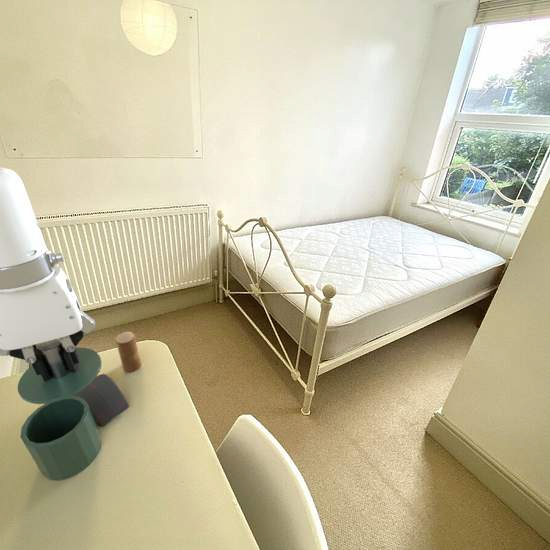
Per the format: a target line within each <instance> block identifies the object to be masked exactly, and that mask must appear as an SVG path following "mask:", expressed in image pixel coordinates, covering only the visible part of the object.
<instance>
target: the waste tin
mask: <svg viewBox="0 0 550 550" xmlns="http://www.w3.org/2000/svg"><path fill="white" fill-rule="evenodd" d="M20 440H21V441H22V443H23V444H24V446H25V448H26V450H27V451H28V452H29V454H30V456H31V457H32V459H33V461H34V462H35V464H36V466H37V467H38V469H39V471H40V473H41V474H42V476H43V477H44V478H46V479H47V480H50V481H64V480H67V479H70V478H72V477H75V476H76V475H78V474H80V473H82V472H83V471H84V470H86V469H87V468H88V467H89V466H90V465H91V464H92V463H93V462H94V460H95V459H96V458H97V456H98V455H99V452H100V450H101V447H102V440H101V434H100V431H99V429H98V427H97V424H96V421H95V420H94V419H93V416H92V414H91V411H90V409H89V406H88V404H87V403H86V401H85V400H84V399H83V398H80V397H77V396H70V397H68V398H66V399H63V400H60V401H57V402H53V403H47V404H41V405H40V406H39V407H37V408H36V409H35V410H34V411H33V412H32V413H31V414H30V415H29V416H28V417H27V418H26V419H25V422H24V423H23V425H22V426H21V430H20Z"/></svg>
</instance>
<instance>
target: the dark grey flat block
mask: <svg viewBox="0 0 550 550" xmlns="http://www.w3.org/2000/svg"><path fill="white" fill-rule="evenodd" d="M73 396H77V397H80V398H83V399H84V400H85V401H86V403H87V404H88V406H89V409H90V411H91V414H92V416H93V419H94V421H95V423H97V424H98V425H99V426H101V427H104V426H106V425H107V424H108V423H109V422H111V421H112V420H113V419H115V418H116V417H117V416H119V415H120V414H121V413H123V412H124V411H125V410H127V409H128V408H130V404H129V402H128V400H127V399H126V397H125V395H124V393H123V392H122V390H121V389H120V387H119V386H118V385H117V384H116V382H115V381H114V380H113V379H112V378H111V377H110V376H108V374H106V373H101V374H98V375H97V376H96V378H95V379H94V380H93V381H92V382H91V383H90V384H89V385H88V386H87V387H85V388H84V389H83V390H81V391H80V392H78V393H76V394H74V395H73Z"/></svg>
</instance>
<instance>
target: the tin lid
mask: <svg viewBox="0 0 550 550" xmlns="http://www.w3.org/2000/svg"><path fill="white" fill-rule="evenodd" d="M38 349H39V351H40V353H41V355H42V358H43V360H44V362H45V364H46V366H47V369H48V371H49V373H50V379H49V380H48V381H45V382H44V380H43V378H42V376H41V374H40V375H37V374H36V372H35V370H34V368H33V366H32V365H30V366H29V367H28V368H27V369H26V370H25V371H24V372H23V374H22V375H21V377H20V378H19V380H18V383H17V392H18V395H19V396H20V398H21V399H22V400H23V401H25V402H26V403H30V404H35V405H44V404H47V403H53V402H57V401H60V400H63V399H66V398H68V397H70V396H73V395H74V394H76V393H78V392H80V391H81V390H83V389H84V388H85V387H87V386H88V385H89V384H90V383H91V382H92V381H93V380H94V379H95V378H96V377H97V376H98V375H99V374H100V371H101V369H102V359H101V356H100V354H99V353H98V352H97V351H95V350H94V349H92V348H90V347H89V348H88V347H82V346H81V347H80V346H79V347H76V350H77V353H78V355H79V360H80V363H77V364H76V372H73V373H72V372H70V370H69V368H68V365H67V363H66V361H65V358H64V355H63V352H64V346H63V344H62V343H61V341H60V339H59V338H58V339H54V340H50V341H47V342H43V343H40V345H39V346H38Z"/></svg>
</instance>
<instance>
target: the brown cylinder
mask: <svg viewBox="0 0 550 550" xmlns="http://www.w3.org/2000/svg"><path fill="white" fill-rule="evenodd" d="M115 344H116V348H117V352H118V354H119V358H120V362H121V365H122V369H123V371H124V372H126V373H133V372H137V371H138V370H139V369H140V368H141V366H142V361H141V356H140V352H139V349H138V345H137V340H136V336H135V333H134V332H132V331H124V332H121V333H119V334H117V336H115Z"/></svg>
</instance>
